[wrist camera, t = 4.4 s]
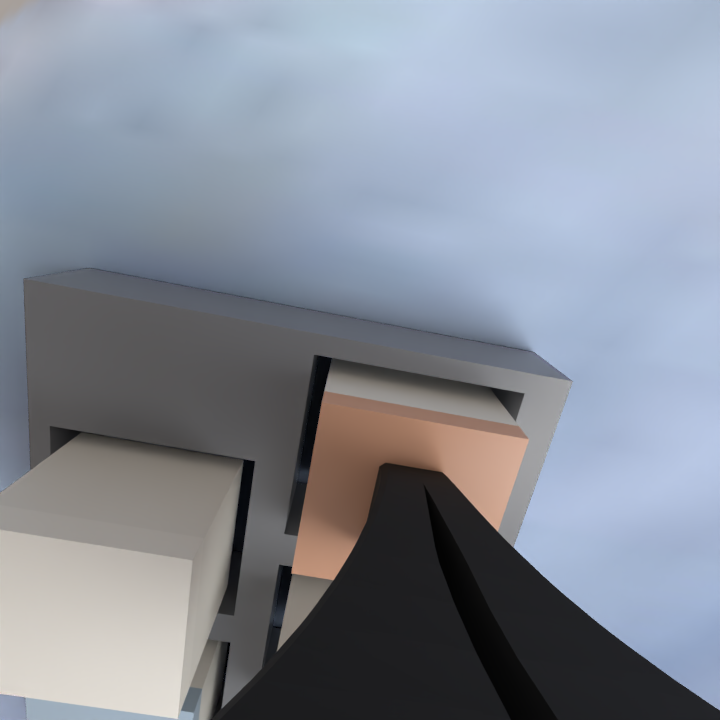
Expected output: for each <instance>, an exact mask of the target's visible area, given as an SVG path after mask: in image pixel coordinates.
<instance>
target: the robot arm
mask: <svg viewBox="0 0 720 720" xmlns="http://www.w3.org/2000/svg"><path fill="white" fill-rule="evenodd" d="M211 720H720V710H718V709H717V708H715V707H714V706H712V705H711V704H709V703H708V702H706V701H705V700H703V699H702V698H700V697H699V696H697V695H696V694H694V693H693V692H691V691H690V690H689V689H687V688H686V687H684V686H683V685H681V684H680V683H678V682H677V681H675V680H674V679H672V678H671V677H670V676H668V675H667V674H665V673H664V672H663V671H661V670H660V669H659V668H657V667H656V666H655V665H653V664H652V663H650V662H649V661H648V660H646V659H645V658H644V657H642V656H641V655H639V654H638V653H637V652H635V651H634V650H633V649H631V648H630V647H629V646H627V645H626V644H624V643H623V642H622V641H620V640H619V639H618V638H617V637H615V636H614V635H613V634H611V633H610V632H609V631H608V630H606V629H605V628H604V627H602V626H601V625H600V624H599V623H597V622H596V621H595V620H594V619H593V618H591V617H590V616H589V615H588V614H587V613H585V612H584V611H583V610H582V609H581V608H579V607H578V606H577V605H576V604H575V603H573V602H572V601H571V600H570V599H569V598H567V597H566V596H565V595H564V594H563V593H561V592H560V591H559V590H558V589H557V588H556V587H555V586H553V585H552V584H551V583H550V582H549V581H548V580H547V579H546V578H545V577H543V576H542V575H541V574H540V573H539V572H538V571H537V570H536V569H535V568H534V567H533V566H532V565H531V564H530V563H529V562H528V561H527V560H526V559H525V558H523V557H522V556H521V555H520V554H519V553H518V552H517V551H516V550H515V549H514V548H513V547H512V546H511V545H510V544H509V543H508V542H507V541H506V540H505V539H504V538H503V537H502V536H501V535H500V533H499V532H498V531H497V530H496V529H495V528H494V527H493V526H492V525H491V524H490V523H489V522H488V521H487V520H486V519H485V518H484V516H483V515H482V514H481V513H480V512H479V511H478V510H477V509H476V508H475V507H474V506H473V504H472V503H471V502H470V501H469V500H468V499H467V498H466V497H465V496H464V494H463V493H462V492H461V491H460V490H459V489H458V488H457V487H456V486H455V484H454V483H453V482H452V481H451V480H450V479H449V478H448V477H447V476H446V475H445V474H444V473H443V472H438V471H432V470H426V469H420V468H414V467H409V466H403V465H397V464H391V463H384V464H383V465H381V466H379V471H378V475H377V479H376V484H375V488H374V492H373V496H372V501H371V505H370V509H369V514H368V518H367V522H366V524H365V526H364V528H363V530H362V532H361V534H360V536H359V538H358V540H357V542H356V544H355V546H354V548H353V549H352V551H351V553H350V555H349V556H348V558H347V560H346V561H345V563H344V565H343V566H342V568H341V569H340V571H339V572H338V574H337V576H336V577H335V579H334V580H333V582H332V583H331V584H330V586H329V587H328V589H327V590H326V591H325V593H324V594H323V596H322V597H321V598H320V600H319V601H318V603H317V604H316V605H315V607H314V608H313V609H312V611H311V612H310V613H309V614H308V616H307V617H306V618H305V620H304V621H303V622H302V623H301V624H300V626H299V627H298V628H297V629H296V630H295V631H294V633H293V634H292V635H291V636H290V637H289V638H288V639H287V641H286V642H285V643H284V644H283V645H282V646H281V647H280V649H279V650H278V651H277V652H276V653H275V654H274V656H273V657H272V658H271V659H270V660H269V661H268V662H267V664H266V665H265V666H264V667H263V668H262V669H261V670H260V671H259V672H258V673H257V674H256V675H255V676H254V677H253V678H252V679H251V680H250V681H249V682H248V683H247V684H246V685H245V686H244V687H243V688H242V689H241V690H240V691H239V692H238V693H237V694H236V695H235V696H234V697H233V698H232V699H231V700H230V701H229V702H228V703H227V704H226V705H225V706H224V707H223V708H222V709H221V710H220V711H219V712H218V713H217V714H216V715H215V716H214V717H213V718H212V719H211Z"/></svg>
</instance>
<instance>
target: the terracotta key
mask: <svg viewBox="0 0 720 720" xmlns="http://www.w3.org/2000/svg"><path fill="white" fill-rule="evenodd" d="M528 442H529V439H528V437H527V436H526V435H525V433H524V432H523V431H522V429H521V428H520V427H519V426H518V424H517V423H516V422H515V420H514V419H513V418H512V416H511V415H510V414H509V412H508V411H507V410H506V409H505V407H504V406H503V405H502V403H501V402H500V401H499V399H498V398H497V397H496V396H495V394H494V393H493V392H492V390H491V389H490V388H489V387H487V386H482V385H476V384H471V383H466V382H460V381H455V380H449V379H444V378H439V377H433V376H428V375H422V374H417V373H411V372H406V371H401V370H395V369H390V368H384V367H379V366H374V365H368V364H363V363H357V362H352V361H346V360H341V359H336V358H332V361H331V365H330V369H329V373H328V378H327V382H326V386H325V391H324V395H323V399H322V404H321V409H320V415H319V421H318V426H317V432H316V437H315V443H314V449H313V454H312V460H311V465H310V471H309V477H308V482H307V488H306V493H305V499H304V505H303V510H302V516H301V521H300V527H299V533H298V538H297V544H296V549H295V555H294V560H293V566H292V572H291V573H292V574H298V575H304V576H310V577H317V578H323V579H329V580H334V579H335V577H336V576H337V574H338V572H339V571H340V569H341V568H342V566H343V565H344V563H345V561H346V560H347V558H348V556H349V555H350V553H351V551H352V549H353V548H354V546H355V544H356V542H357V540H358V538H359V536H360V534H361V532H362V530H363V528H364V526H365V524H366V522H367V518H368V514H369V509H370V505H371V501H372V496H373V492H374V488H375V484H376V479H377V475H378V471H379V466H381V465H383V464H384V463H391V464H397V465H403V466H409V467H414V468H420V469H426V470H432V471H438V472H443V473H444V474H445V475H446V476H447V477H448V478H449V479H450V480H451V481H452V482H453V483H454V484H455V486H456V487H457V488H458V489H459V490H460V491H461V492H462V493H463V494H464V496H465V497H466V498H467V499H468V500H469V501H470V502H471V503H472V504H473V506H474V507H475V508H476V509H477V510H478V511H479V512H480V513H481V514H482V515H483V516H484V518H485V519H486V520H487V521H488V522H489V523H490V524H491V525H492V526H493V527H494V528H495V529H496V530H497V531H498V530H499V527H500V524H501V521H502V518H503V515H504V512H505V509H506V506H507V503H508V500H509V497H510V495H511V492H512V489H513V486H514V483H515V480H516V477H517V474H518V471H519V468H520V465H521V462H522V459H523V456H524V453H525V451H526V448H527V445H528Z"/></svg>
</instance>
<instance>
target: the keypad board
mask: <svg viewBox="0 0 720 720" xmlns="http://www.w3.org/2000/svg"><path fill="white" fill-rule="evenodd" d="M23 280H24V307H25V334H26V360H27V387H28V414H29V441H30V468H31V469H33V468H34V467H36V466H37V465H38V464H40V463H41V462H42V461H44V460H45V459H46V458H48V457H49V456H50V455H52V454H53V453H54V452H56V451H57V450H58V449H60V448H61V447H62V446H64V445H65V444H67V443H68V442H69V441H71V440H72V439H73V438H75V437H76V436H77V435H79V434H80V433H81V432H83V433H89V434H95V435H101V436H105V435H106V436H112V437H117V438H123V439H129V440H135V441H141V442H146V443H152V444H158V445H164V446H170V447H176V448H181V449H187V450H193V451H199V452H205V453H211V454H216V455H222V456H228V457H234V458H240V459H246V460H251V461H255V466H254V473H253V481H252V488H251V495H250V503H249V510H248V517H247V525H246V532H245V540H244V547H243V552H237V551H232V555H231V563H230V571H229V579H228V586H227V589H226V591H225V594H224V597H223V599H222V602H221V605H220V607H219V610H218V613H217V615H216V618H215V621H214V623H213V626H212V629H211V631H210V634H209V637H208V639H211V640H217V641H224V642H231V643H230V650H229V657H228V665H227V672H226V680H225V683H224V682H223V683H222V689H221V692H220V696H219V699H218V702H217V706H216V709H215V712H214V715H213V717H214V716H215V715H216V714H217V713H218V712H219V711H220V710H221V709H222V708H223V707H224V706H225V705H226V704H227V703H228V702H229V701H230V700H231V699H232V698H233V697H234V696H235V695H236V694H237V693H238V692H239V691H240V690H241V689H242V688H243V687H244V686H245V685H246V684H247V683H248V682H249V681H250V680H251V679H252V678H253V677H254V676H255V675H256V674H257V673H258V672H259V671H260V670H261V669H262V668H263V667H264V666H265V665H266V664H267V662H268V661H269V660H270V659H271V658H272V657H273V656H274V654H275V653H276V652H277V648H278V643H279V638H280V633H281V628H274V627H273V621H274V616H275V610H276V604H277V598H278V592H279V586H280V580H281V575H282V569H283V565H285V566H291V567H292V566H293V560H294V555H295V549H296V544H297V538H298V533H299V527H300V521H301V516H302V510H303V505H304V499H305V493H306V488H307V484H304V483H298V482H297V481H298V475H299V469H300V463H301V457H302V452H303V446H304V440H305V434H306V428H307V422H308V416H309V411H310V405H311V399H312V393H313V387H314V381H315V375H316V370H317V364H318V358H319V356H325V357H330V358H336V359H341V360H346V361H352V362H357V363H363V364H368V365H374V366H379V367H384V368H390V369H395V370H401V371H406V372H411V373H417V374H422V375H428V376H433V377H439V378H444V379H449V380H455V381H460V382H466V383H471V384H476V385H482V386H487V387H489V388H490V389H491V390H492V392H493V393H494V394H495V396H496V397H497V398H498V399H499V401H500V402H501V403H502V405H503V406H504V407H505V409H506V410H507V411H508V412H509V414H510V415H511V416H512V418H513V419H514V420H515V422H516V423H517V424H518V426H519V427H520V428H521V429H522V431H523V432H524V433H525V435H526V436H527V437H528V439H529V442H528V445H527V448H526V451H525V453H524V456H523V459H522V462H521V465H520V468H519V471H518V474H517V477H516V480H515V483H514V486H513V489H512V492H511V495H510V497H509V500H508V503H507V506H506V509H505V512H504V515H503V518H502V521H501V524H500V527H499V530H498V532H499V533H500V535H501V536H502V537H503V538H504V539H505V540H506V541H507V542H508V543H509V544H510V545H511V546H512V547H514V544H515V541H516V539H517V536H518V533H519V530H520V527H521V525H522V522H523V519H524V516H525V514H526V511H527V508H528V505H529V502H530V500H531V497H532V494H533V491H534V488H535V486H536V483H537V480H538V477H539V474H540V472H541V469H542V466H543V463H544V460H545V458H546V455H547V452H548V449H549V446H550V444H551V441H552V438H553V435H554V432H555V430H556V427H557V424H558V421H559V419H560V416H561V413H562V410H563V407H564V405H565V402H566V399H567V396H568V393H569V391H570V388H571V385H572V382H573V381H572V380H570V379H569V378H568V377H566V376H565V375H564V374H562V373H561V372H560V371H558V370H557V369H556V368H554V367H553V366H552V365H550V364H549V363H548V362H546V361H545V360H544V359H543V358H541V357H540V356H539V355H537V354H536V353H535V352H530V351H525V350H519V349H514V348H509V347H504V346H498V345H493V344H488V343H482V342H477V341H472V340H467V339H461V338H456V337H451V336H446V335H440V334H435V333H430V332H424V331H419V330H414V329H409V328H403V327H398V326H393V325H388V324H382V323H377V322H372V321H366V320H361V319H356V318H351V317H345V316H340V315H335V314H330V313H324V312H319V311H314V310H309V309H303V308H298V307H293V306H287V305H282V304H277V303H272V302H266V301H261V300H256V299H251V298H245V297H240V296H235V295H229V294H224V293H219V292H214V291H208V290H203V289H198V288H193V287H187V286H182V285H177V284H171V283H166V282H161V281H156V280H150V279H145V278H140V277H135V276H129V275H124V274H119V273H113V272H108V271H103V270H98V269H92V268H85V269H79V270H73V271H67V272H61V273H55V274H48V275H42V276H36V277H30V278H24V279H23Z"/></svg>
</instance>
